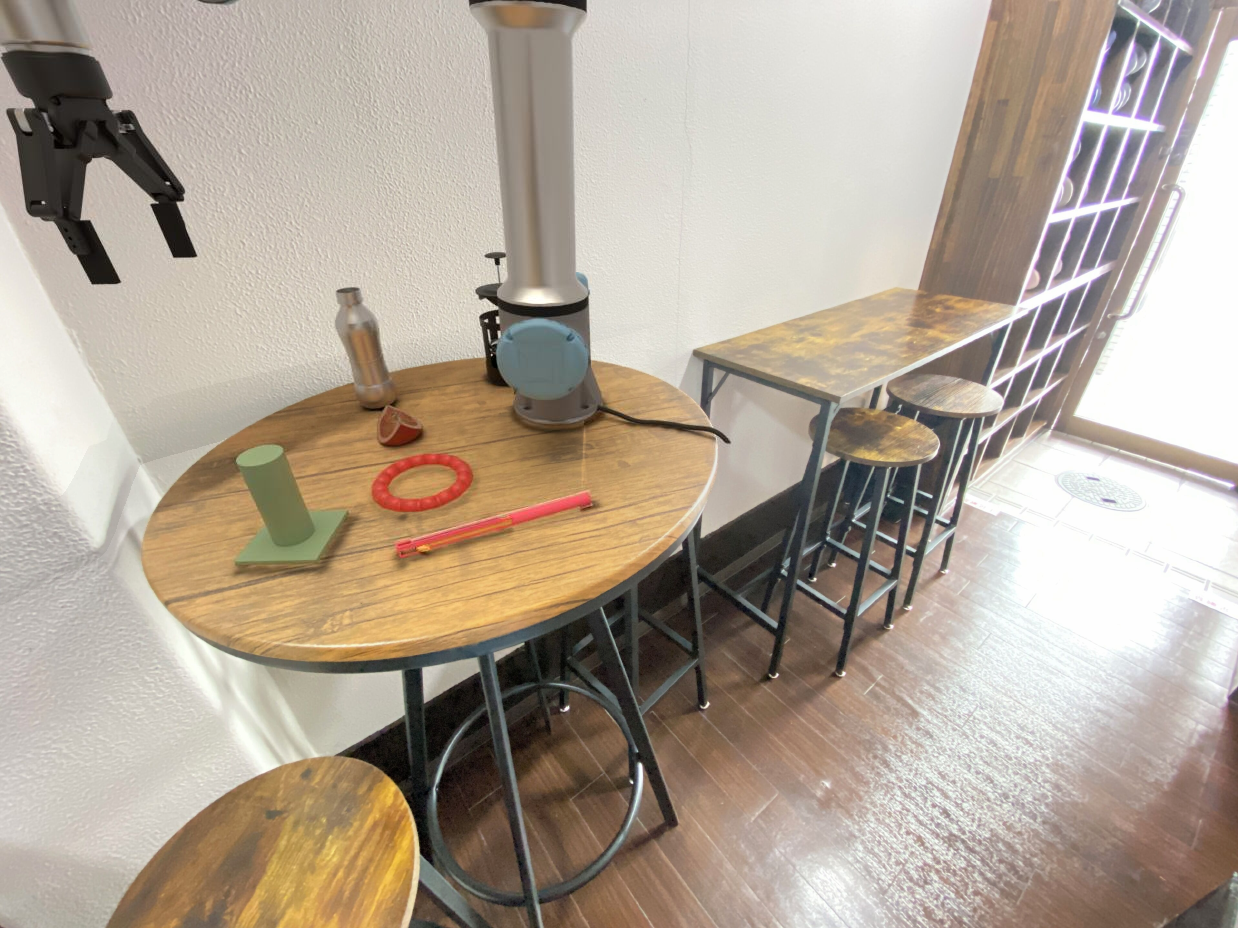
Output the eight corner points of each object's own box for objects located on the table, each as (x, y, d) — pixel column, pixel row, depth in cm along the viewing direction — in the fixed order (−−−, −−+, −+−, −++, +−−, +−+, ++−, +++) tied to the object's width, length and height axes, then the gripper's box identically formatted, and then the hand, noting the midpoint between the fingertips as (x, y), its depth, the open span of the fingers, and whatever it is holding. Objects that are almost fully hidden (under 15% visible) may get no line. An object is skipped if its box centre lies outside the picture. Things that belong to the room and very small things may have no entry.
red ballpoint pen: (398, 552, 63) (400, 567, 59) (394, 536, 63) (395, 549, 59) (584, 499, 72) (597, 509, 68) (582, 484, 72) (595, 493, 67)
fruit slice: (374, 435, 85) (366, 407, 83) (416, 424, 88) (410, 397, 86) (386, 459, 79) (378, 429, 77) (431, 446, 82) (425, 417, 80)
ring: (481, 461, 79) (479, 450, 78) (462, 516, 68) (459, 504, 67) (392, 463, 78) (389, 451, 77) (359, 518, 68) (354, 506, 66)
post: (351, 519, 68) (321, 433, 61) (320, 569, 60) (281, 477, 53) (278, 520, 67) (240, 434, 60) (238, 571, 60) (189, 479, 53)
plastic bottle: (407, 401, 95) (379, 288, 85) (374, 416, 91) (340, 298, 80) (384, 393, 98) (354, 282, 88) (351, 407, 94) (315, 292, 83)
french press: (501, 391, 99) (484, 262, 86) (474, 376, 105) (454, 253, 92) (551, 374, 106) (542, 251, 93) (523, 361, 111) (511, 244, 99)
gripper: (105, 63, 64) (184, 249, 76) (-132, 36, 43) (27, 298, 55) (169, 63, 65) (238, 248, 76) (-38, 36, 44) (101, 297, 55)
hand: (149, 269), depth 66 cm, fingers open, 13 cm apart
